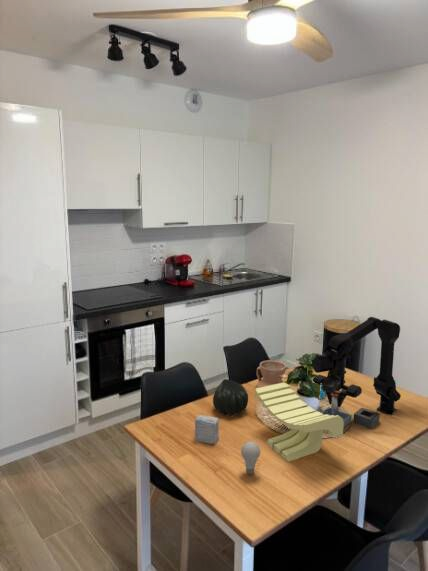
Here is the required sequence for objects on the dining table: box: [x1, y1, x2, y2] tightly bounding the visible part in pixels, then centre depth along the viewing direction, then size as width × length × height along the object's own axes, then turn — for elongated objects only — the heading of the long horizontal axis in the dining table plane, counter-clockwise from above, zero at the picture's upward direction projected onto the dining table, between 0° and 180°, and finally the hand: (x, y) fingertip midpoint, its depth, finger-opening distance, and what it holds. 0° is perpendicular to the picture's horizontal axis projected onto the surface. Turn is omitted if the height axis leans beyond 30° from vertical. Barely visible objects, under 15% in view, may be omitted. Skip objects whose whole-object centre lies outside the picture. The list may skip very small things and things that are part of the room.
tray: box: [320, 406, 353, 429], centre depth 172 cm, size 10×10×3 cm
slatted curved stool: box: [254, 382, 344, 462], centre depth 153 cm, size 30×16×18 cm, turn 27°
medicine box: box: [194, 414, 220, 446], centre depth 157 cm, size 8×4×9 cm, turn 71°
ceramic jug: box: [256, 359, 288, 388], centre depth 197 cm, size 18×14×14 cm
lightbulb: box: [240, 441, 261, 475], centre depth 137 cm, size 6×6×11 cm
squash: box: [212, 378, 249, 417], centre depth 179 cm, size 14×15×15 cm
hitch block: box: [352, 407, 381, 430], centre depth 171 cm, size 8×8×4 cm
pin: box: [330, 389, 341, 416], centre depth 170 cm, size 4×4×11 cm
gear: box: [319, 383, 327, 400], centre depth 196 cm, size 11×6×10 cm
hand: (335, 405), depth 170 cm, fingers closed on pin, 3 cm apart
